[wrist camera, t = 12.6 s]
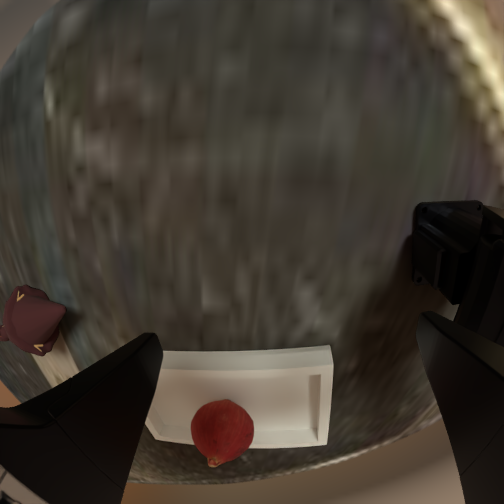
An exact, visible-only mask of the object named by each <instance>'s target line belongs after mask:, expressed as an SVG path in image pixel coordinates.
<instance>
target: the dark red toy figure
mask: <svg viewBox="0 0 504 504" xmlns="http://www.w3.org/2000/svg"><path fill="white" fill-rule="evenodd" d="M66 310H67V309H66V307H65V306H64V305H61V304H58V303H55V302H52V301H50V300H49V298H48V297H47V295H46V294H45V292H44V291H42V290H40V289H36V288H32V287H30V286H28V285H23V286H22V287H21V286H17V287H16V288H15V289H14V291H13V293H12V295H11V297H10V298H9V300H8V301H6V304H5V310H4V316H3V325H1V326H0V341H9V340H10V341H11V342H12V343H14V344H15V345H16V346H18V347H19V348H20V349H21V350H23V351H25V352H29V353H32V354H35V355H39V356H44V355H45V354H46V353H47V352H50V351H51V350H52V347H53V345H54V343H55V341H56V340H57V338H58V336H59V325H58V324H59V322H60V320H61V319H62V317H63V316H64V314H65V312H66Z"/></svg>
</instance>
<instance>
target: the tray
mask: <svg viewBox="0 0 504 504" xmlns="http://www.w3.org/2000/svg"><path fill="white" fill-rule="evenodd" d="M333 366H334V364H333V359H332V353H331V348H330V345H325V346H314V347H303V348H290V349H275V350H255V351H213V352H198V351H163V361H162V365H161V369H160V374H159V378H158V383H157V387H156V391H155V395H154V398H153V401H152V404H151V407H150V409H149V412H148V415H147V418H146V421H145V424H146V426H147V427H148V429H149V430H150V432H151V433H152V435H153V436H154V438H155V439H156V440H162V441H169V442H176V443H183V444H192V445H195V444H194V442H193V440H192V435H191V421H192V419H193V417H194V415H195V413H196V412H197V410H198V409H199V408H201V407H202V406H203V405H205V404H207V403H209V402H213V401H219V400H224V399H228V400H231V401H232V402H234V403H236V404H238V405H239V406H241V407H242V408H243V409H245V410H246V412H247V413H248V414H249V415H250V417H251V418H252V420H253V423H254V437H253V441H252V443H251V445H250V447H249V448H290V447H306V446H318V445H327V437H328V428H329V419H330V408H331V396H332V383H333Z"/></svg>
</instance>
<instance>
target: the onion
mask: <svg viewBox="0 0 504 504" xmlns="http://www.w3.org/2000/svg"><path fill="white" fill-rule="evenodd" d="M191 435H192V440H193V442H194V444H195V446H196V447H197V449H198V450H199V451H200V452H201V453H202V454H203V455H204V456H205V457H207V458H208V466H210V467H217V466H218V465H220V464H223V463H225V462H228V461H231V460H234V459H236V458H238V457H239V456H240V455H241V454H243V453H244V452H245V451H246V450H247V449H248V448H249V447H250V445H251V443H252V441H253V437H254V423H253V420H252V418H251V417H250V415H249V414H248V413H247V412H246V410H245V409H243V408H242V407H241V406H239V405H238V404H236V403H234V402H232V401H231V400H228V399H224V400H219V401H213V402H209V403H207V404H205V405H203V406H202V407H201V408H199V409H198V410H197V412H196V413H195V415H194V417H193V419H192V421H191Z"/></svg>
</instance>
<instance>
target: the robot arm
mask: <svg viewBox="0 0 504 504" xmlns="http://www.w3.org/2000/svg"><path fill="white" fill-rule="evenodd" d="M477 206H478V209H477ZM423 207H425V211H424V212H422V211H421V210H422V208H423ZM482 217H483V218H482ZM412 265H413V274H412V281H413V282H414V284H416V285H424V284H431V286H432V287H433V288H434V289H435V290H437V289H439V290H440V291H441V292H442V294H443V295H444V296H445V297H446V298H447V299H448V300H449V302H450V303H451V304H452V305H456V304H459V307H458V310H457V312H456V315H455V318H454V320H453V321H451V320H449V319H447V318H445V317H443V316H441V315H439V314H437V313H435V312H433V311H427V312H422V313H421V314H420V316H419V320H418V325H417V330H416V340H417V343H418V346H419V350H420V353H421V356H422V360H423V364H424V367H425V371H426V374H427V377H428V380H429V382H430V385H431V387H432V390H433V393H434V395H435V398H436V401H437V404H438V406H439V409H440V412H441V415H442V418H443V421H444V424H445V427H446V430H447V433H448V436H449V440H450V443H451V446H452V450H453V453H454V457H455V461H456V464H457V467H458V472H459V475H460V481H461V485H462V490H463V494H464V499H465V504H504V209H500V208H496V207H491V206H486V205H483V204H482V202H480V201H477V200H470V201H440V202H421V203H419V204H418V206H417V209H416V231H415V232H414V235H413V251H412ZM418 277H420V279H419V280H417V278H418ZM162 361H163V350H162V347H161V344H160V342H159V339H158V336H157V335H156V334H155V333H143V334H142V335H140V336H138V337H137V338H135V339H133V340H132V341H130V342H129V343H127V344H125V345H124V346H122V347H120V348H119V349H117V350H116V351H114V352H112V353H111V354H109V355H107V356H106V357H104V358H102V359H101V360H99V361H97V362H96V363H94V364H93V365H91V366H89V367H88V368H86V369H84V370H83V371H81V372H79V373H78V374H76V375H74V376H73V377H72V378H69V379H68V380H66V381H64V382H63V383H61V384H59V385H57V386H56V387H54V388H52V389H50V390H48V391H46V392H44V393H42V394H40V395H38V396H36V397H34V398H32V399H30V400H28V401H26V402H24V403H22V404H20V405H17V406H15V407H10V408H3V407H0V504H121V500H122V497H123V493H124V489H125V486H126V482H127V479H128V476H129V472H130V469H131V466H132V462H133V459H134V456H135V453H136V449H137V446H138V443H139V440H140V437H141V434H142V431H143V428H144V425H145V421H146V418H147V415H148V412H149V409H150V407H151V404H152V401H153V398H154V395H155V391H156V387H157V383H158V378H159V374H160V369H161V365H162Z"/></svg>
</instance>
